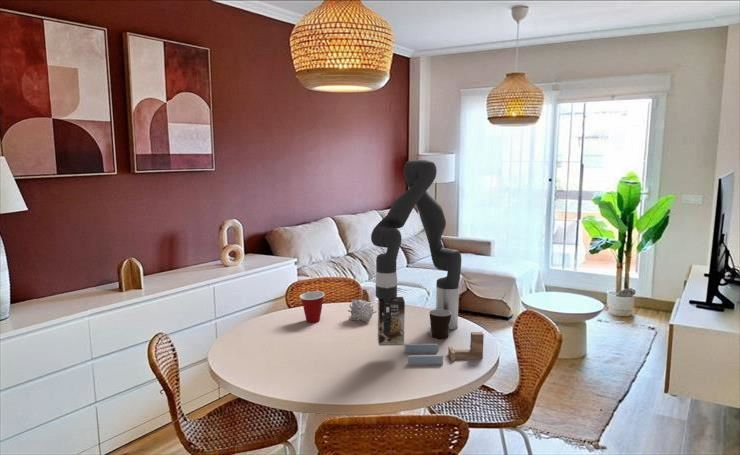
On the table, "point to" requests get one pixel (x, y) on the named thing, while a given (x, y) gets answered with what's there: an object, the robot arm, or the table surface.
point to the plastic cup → (312, 305)
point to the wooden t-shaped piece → (471, 353)
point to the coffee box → (392, 323)
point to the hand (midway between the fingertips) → (386, 329)
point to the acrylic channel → (423, 358)
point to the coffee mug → (440, 323)
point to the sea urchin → (361, 310)
